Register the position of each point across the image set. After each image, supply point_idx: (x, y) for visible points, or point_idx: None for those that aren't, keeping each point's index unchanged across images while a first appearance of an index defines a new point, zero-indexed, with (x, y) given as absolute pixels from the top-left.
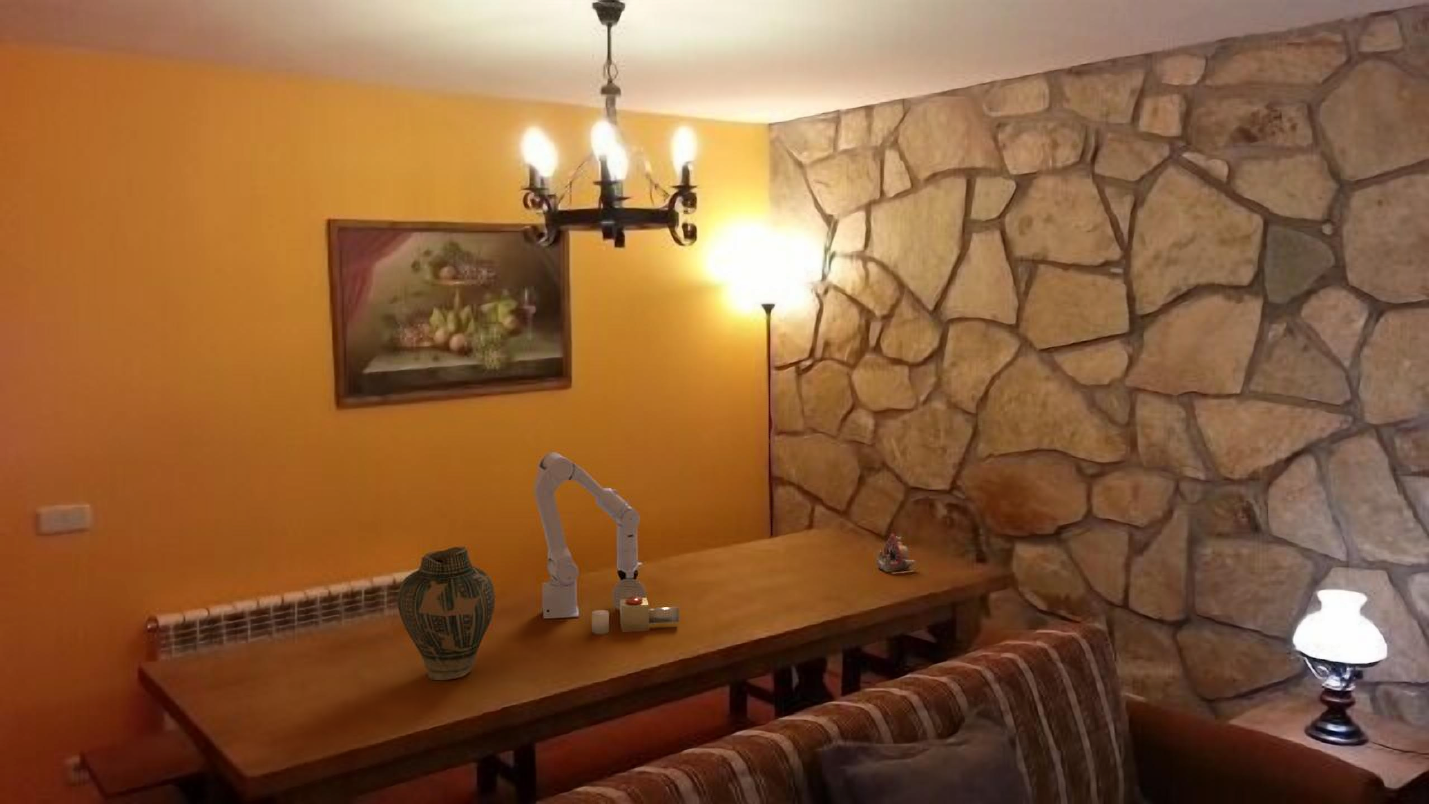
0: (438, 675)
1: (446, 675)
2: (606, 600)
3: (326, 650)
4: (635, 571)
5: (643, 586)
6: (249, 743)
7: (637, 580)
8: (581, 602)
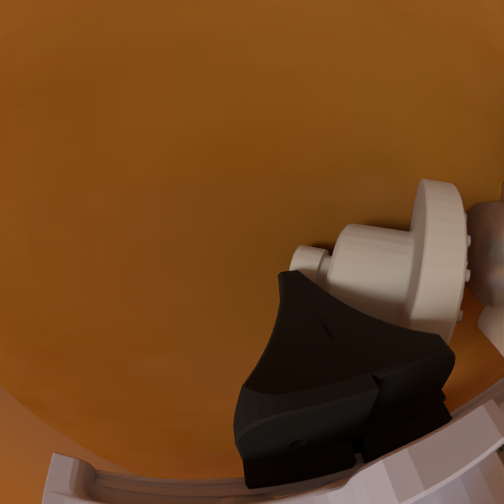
0: None
1: None
2: (203, 357)
3: None
4: (371, 402)
5: (464, 223)
6: None
7: (459, 302)
8: (232, 413)
